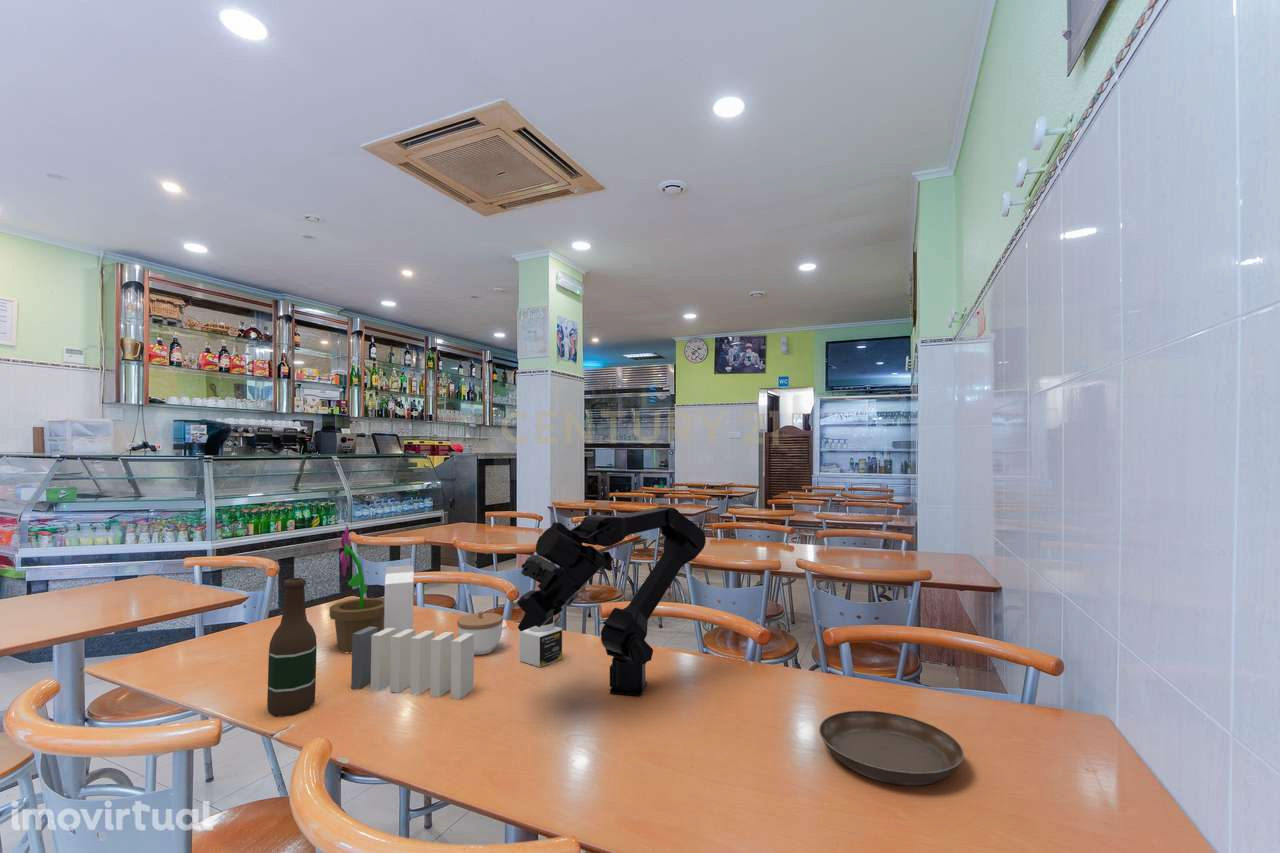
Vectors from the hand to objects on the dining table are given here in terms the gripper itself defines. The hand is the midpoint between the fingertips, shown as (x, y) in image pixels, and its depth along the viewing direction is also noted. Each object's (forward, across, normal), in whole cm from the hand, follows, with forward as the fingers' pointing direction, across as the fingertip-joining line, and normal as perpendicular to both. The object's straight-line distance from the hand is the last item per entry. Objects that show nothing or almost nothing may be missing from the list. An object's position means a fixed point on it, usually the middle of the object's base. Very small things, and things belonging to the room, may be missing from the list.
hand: (521, 627), depth 113 cm
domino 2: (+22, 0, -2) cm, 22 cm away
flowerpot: (+47, -21, -27) cm, 58 cm away
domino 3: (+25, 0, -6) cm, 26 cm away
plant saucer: (-36, +8, +56) cm, 67 cm away
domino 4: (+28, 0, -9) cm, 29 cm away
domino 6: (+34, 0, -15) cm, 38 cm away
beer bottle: (+38, +13, -19) cm, 45 cm away
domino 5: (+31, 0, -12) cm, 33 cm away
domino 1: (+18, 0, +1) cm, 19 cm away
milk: (+35, -12, -15) cm, 40 cm away
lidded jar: (+25, -24, -6) cm, 35 cm away
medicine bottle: (+13, -21, +6) cm, 26 cm away
